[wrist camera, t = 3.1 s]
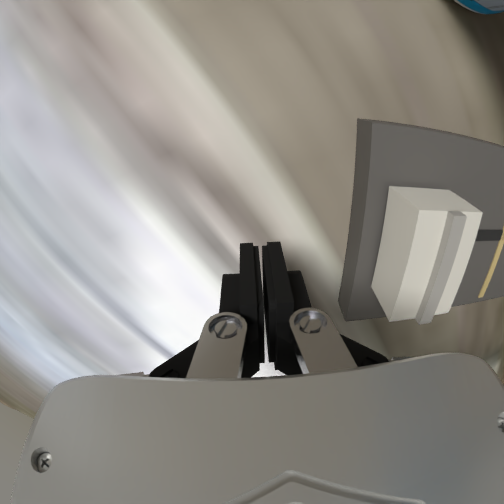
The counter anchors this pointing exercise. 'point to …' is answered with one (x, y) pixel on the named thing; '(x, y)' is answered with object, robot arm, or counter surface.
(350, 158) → the counter surface
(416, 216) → the fader knob
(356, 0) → the counter surface
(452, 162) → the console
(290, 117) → the counter surface
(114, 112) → the counter surface
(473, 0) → the blue lidded canister
